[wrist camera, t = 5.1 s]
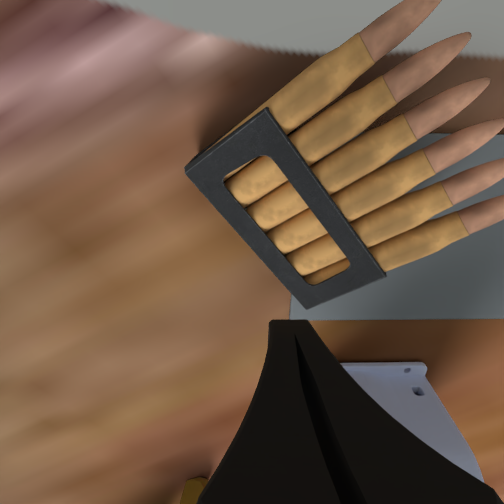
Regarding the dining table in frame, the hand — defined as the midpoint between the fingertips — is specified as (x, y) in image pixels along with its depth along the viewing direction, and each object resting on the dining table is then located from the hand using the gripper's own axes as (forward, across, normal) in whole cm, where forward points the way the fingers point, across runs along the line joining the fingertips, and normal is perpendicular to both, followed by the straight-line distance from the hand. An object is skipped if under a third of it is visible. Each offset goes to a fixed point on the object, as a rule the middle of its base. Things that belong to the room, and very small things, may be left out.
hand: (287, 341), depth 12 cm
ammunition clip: (+8, +1, 0) cm, 8 cm away
